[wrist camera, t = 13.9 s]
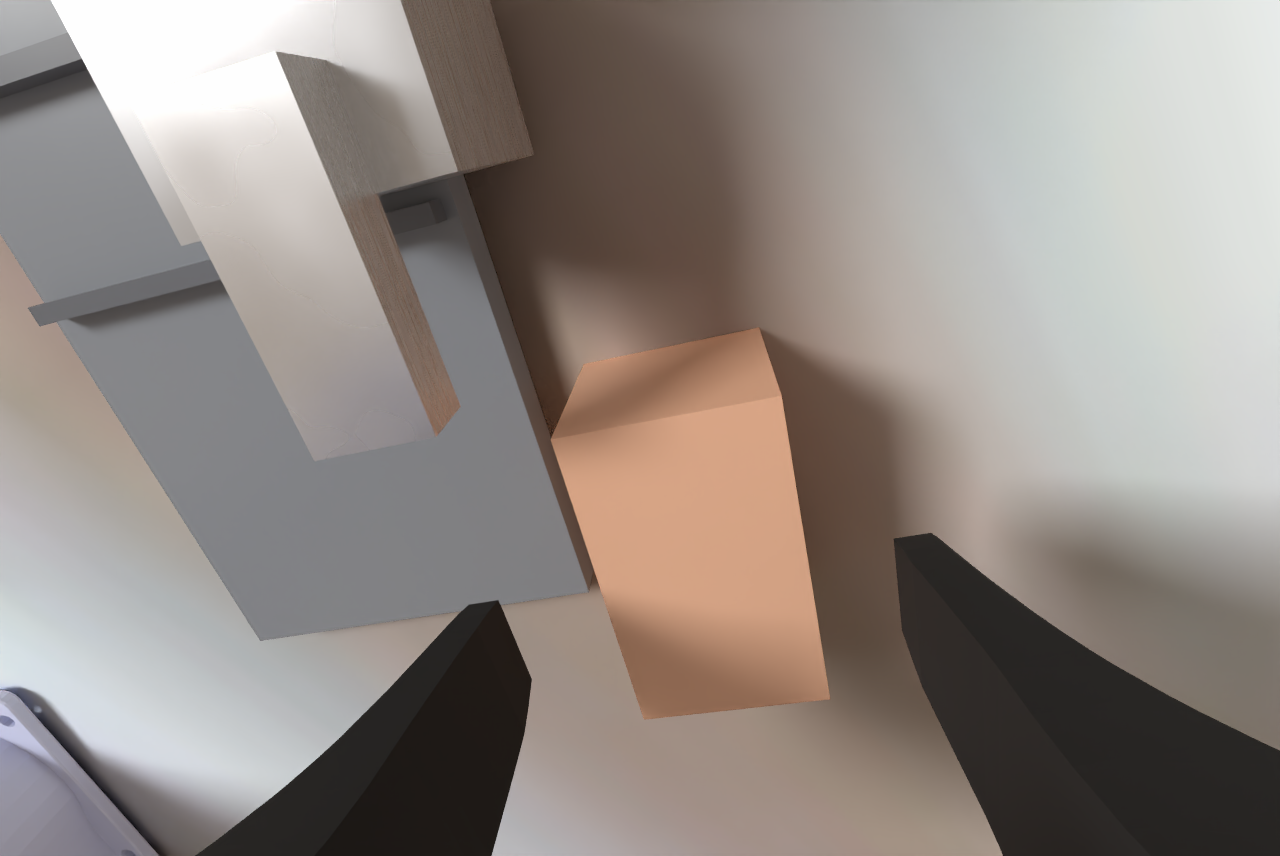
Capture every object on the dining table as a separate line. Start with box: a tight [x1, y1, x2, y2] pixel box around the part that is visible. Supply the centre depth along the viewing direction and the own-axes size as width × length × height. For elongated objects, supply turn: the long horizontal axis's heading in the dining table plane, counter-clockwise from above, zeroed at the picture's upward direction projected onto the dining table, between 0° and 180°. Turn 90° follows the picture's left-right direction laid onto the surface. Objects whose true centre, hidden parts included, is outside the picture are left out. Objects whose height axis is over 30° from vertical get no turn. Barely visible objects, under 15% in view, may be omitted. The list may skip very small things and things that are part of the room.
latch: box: [51, 0, 534, 461], centre depth 10 cm, size 6×4×5 cm, turn 14°
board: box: [0, 0, 594, 641], centre depth 14 cm, size 15×10×2 cm, turn 14°
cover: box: [551, 328, 830, 720], centre depth 14 cm, size 7×4×4 cm, turn 14°
